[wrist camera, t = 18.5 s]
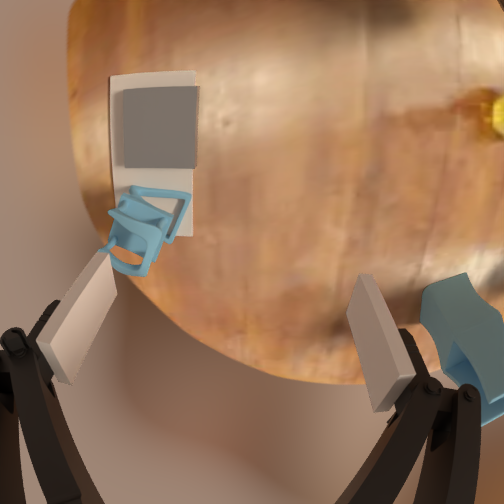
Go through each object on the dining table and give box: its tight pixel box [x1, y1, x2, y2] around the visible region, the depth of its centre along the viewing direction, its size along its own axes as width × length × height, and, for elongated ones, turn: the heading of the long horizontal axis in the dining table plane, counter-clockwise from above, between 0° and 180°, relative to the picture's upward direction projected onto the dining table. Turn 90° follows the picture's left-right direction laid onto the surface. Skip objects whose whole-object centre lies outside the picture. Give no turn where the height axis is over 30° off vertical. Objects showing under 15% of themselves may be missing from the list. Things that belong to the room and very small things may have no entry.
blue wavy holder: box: [420, 273, 504, 427], centre depth 38 cm, size 10×10×25 cm
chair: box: [98, 185, 192, 277], centre depth 35 cm, size 8×8×12 cm
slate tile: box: [123, 86, 200, 169], centre depth 34 cm, size 10×2×9 cm
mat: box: [110, 70, 196, 237], centre depth 37 cm, size 22×11×1 cm, turn 176°
